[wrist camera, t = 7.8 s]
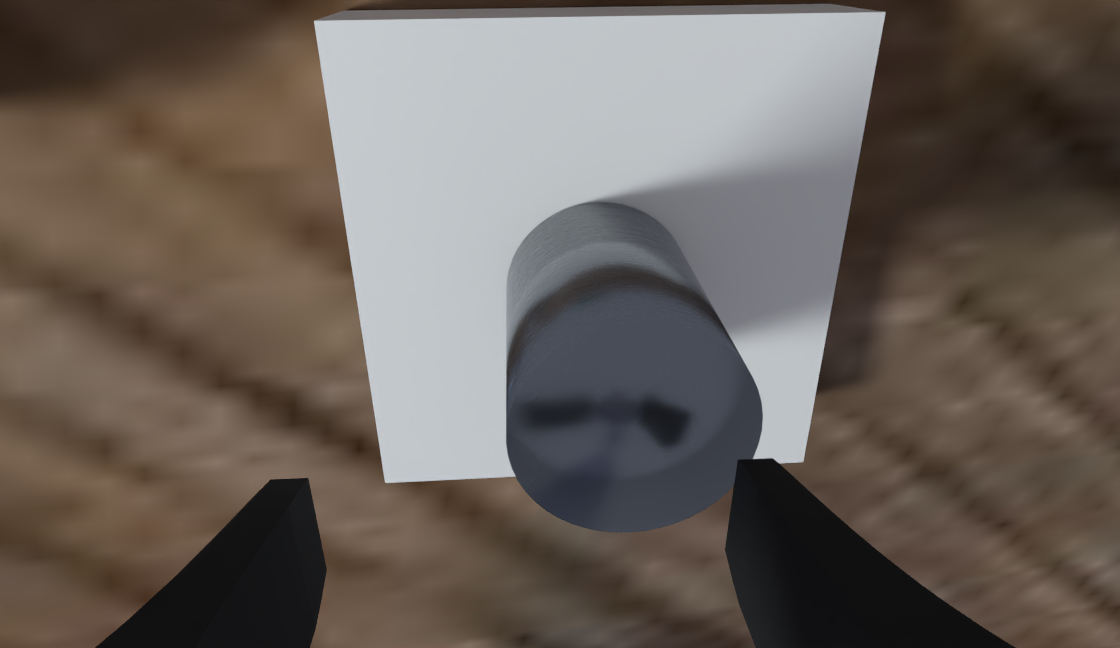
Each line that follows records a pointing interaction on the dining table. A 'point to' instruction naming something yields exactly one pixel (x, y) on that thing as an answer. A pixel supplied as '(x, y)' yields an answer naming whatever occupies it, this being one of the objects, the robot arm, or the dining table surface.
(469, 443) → the base block
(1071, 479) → the dining table surface
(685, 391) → the grey cylinder
